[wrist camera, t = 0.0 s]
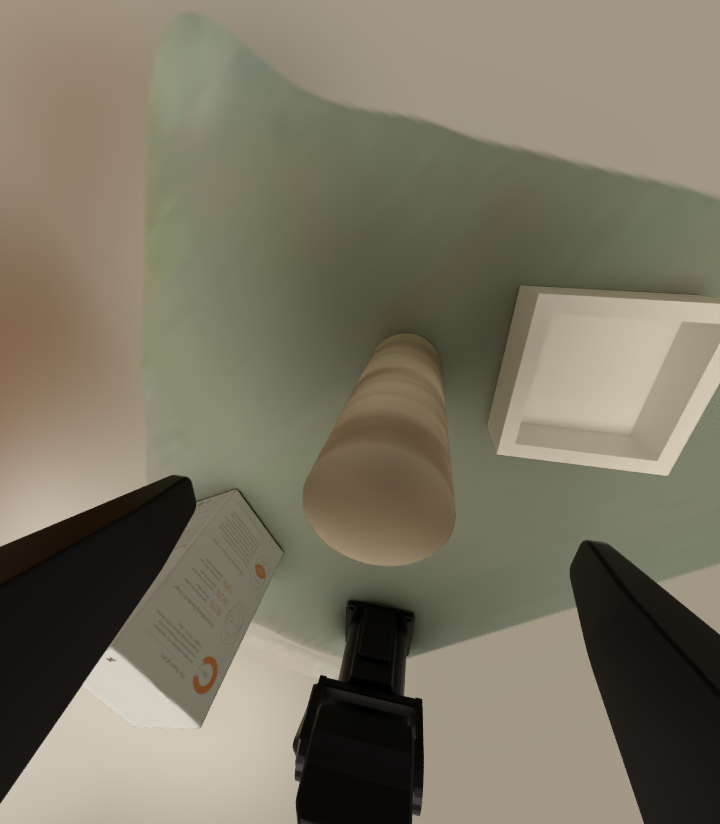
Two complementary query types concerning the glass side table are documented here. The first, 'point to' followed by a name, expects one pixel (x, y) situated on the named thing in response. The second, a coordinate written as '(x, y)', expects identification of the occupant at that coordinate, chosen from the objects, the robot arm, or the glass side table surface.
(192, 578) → the small box
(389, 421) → the tan rounded rod
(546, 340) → the white square tray
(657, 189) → the glass side table surface
